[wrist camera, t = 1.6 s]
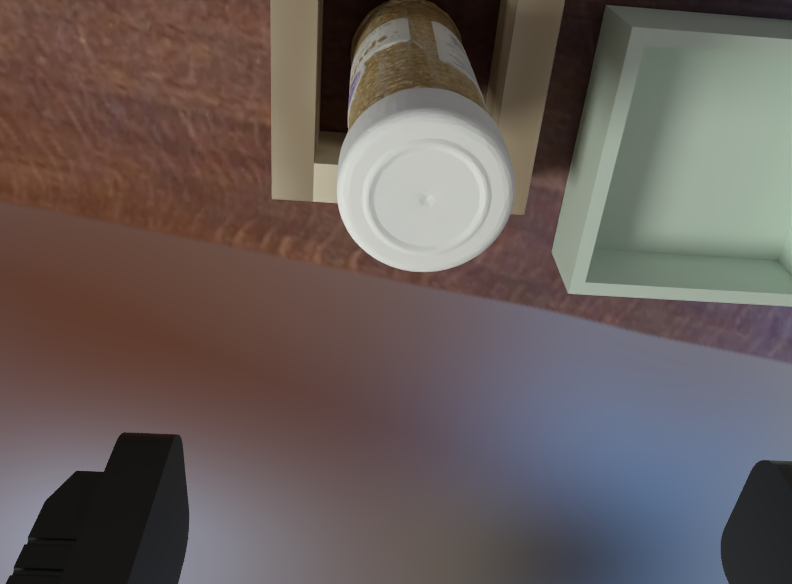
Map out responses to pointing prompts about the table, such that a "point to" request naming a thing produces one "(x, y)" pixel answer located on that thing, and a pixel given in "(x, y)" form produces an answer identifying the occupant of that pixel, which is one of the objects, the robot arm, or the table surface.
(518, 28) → the socket block
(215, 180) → the table surface
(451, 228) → the sprinkles bottle
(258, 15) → the table surface
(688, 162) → the tray
